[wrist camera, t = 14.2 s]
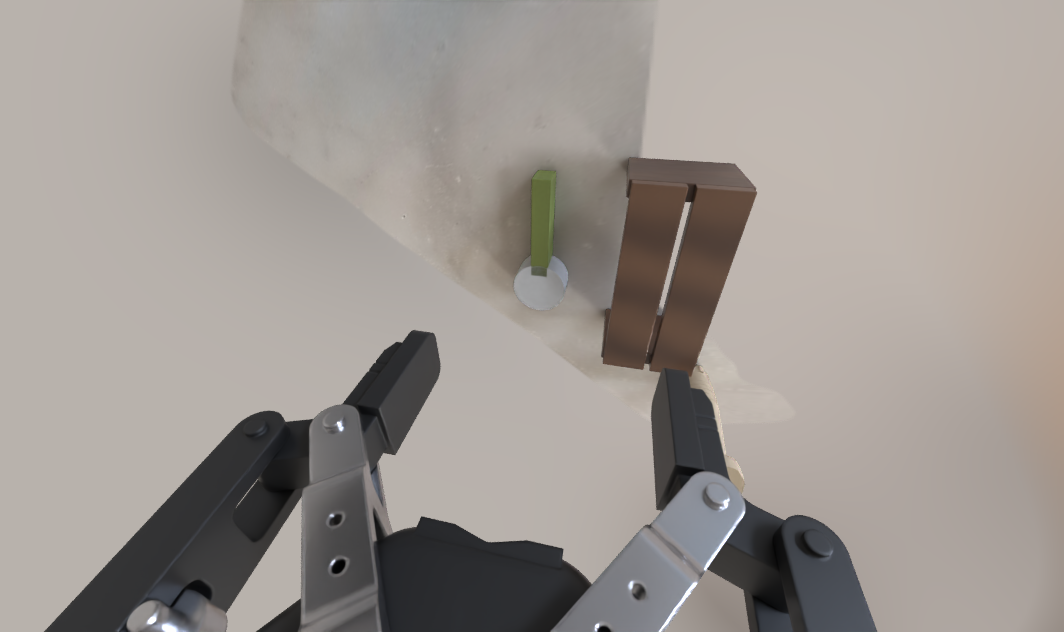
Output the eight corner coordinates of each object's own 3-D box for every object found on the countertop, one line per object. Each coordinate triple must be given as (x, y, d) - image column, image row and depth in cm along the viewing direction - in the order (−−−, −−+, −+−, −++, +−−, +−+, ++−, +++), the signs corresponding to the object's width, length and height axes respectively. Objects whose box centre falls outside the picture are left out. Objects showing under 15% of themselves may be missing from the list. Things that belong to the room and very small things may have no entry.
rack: (629, 157, 34) (628, 183, 28) (735, 163, 33) (760, 192, 26) (604, 318, 45) (600, 363, 38) (684, 328, 43) (693, 377, 37)
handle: (670, 390, 49) (683, 502, 37) (673, 352, 46) (688, 462, 34) (710, 392, 48) (737, 508, 36) (717, 353, 44) (749, 467, 32)
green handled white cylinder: (518, 168, 37) (510, 177, 34) (576, 172, 36) (572, 181, 34) (519, 293, 45) (513, 307, 43) (566, 299, 44) (563, 313, 42)
